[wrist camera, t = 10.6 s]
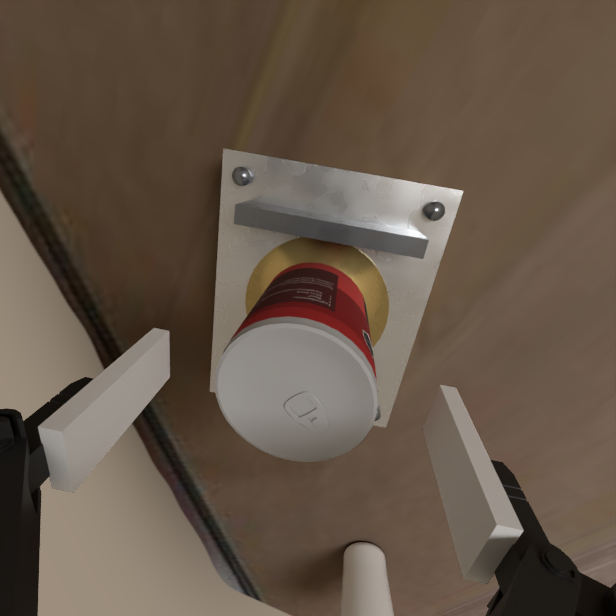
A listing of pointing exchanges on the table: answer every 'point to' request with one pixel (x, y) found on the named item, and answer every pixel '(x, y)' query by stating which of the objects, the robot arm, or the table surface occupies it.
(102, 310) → the table surface
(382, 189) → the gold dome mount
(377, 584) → the drinking glass
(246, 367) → the canned food
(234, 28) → the table surface
